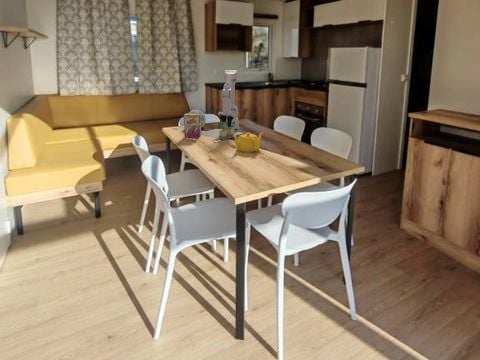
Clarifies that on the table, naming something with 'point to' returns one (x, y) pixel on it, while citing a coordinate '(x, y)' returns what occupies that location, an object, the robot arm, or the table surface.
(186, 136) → the candy bar box
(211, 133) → the board
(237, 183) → the table surface
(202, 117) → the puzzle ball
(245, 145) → the teapot
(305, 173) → the table surface
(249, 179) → the table surface
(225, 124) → the beam
